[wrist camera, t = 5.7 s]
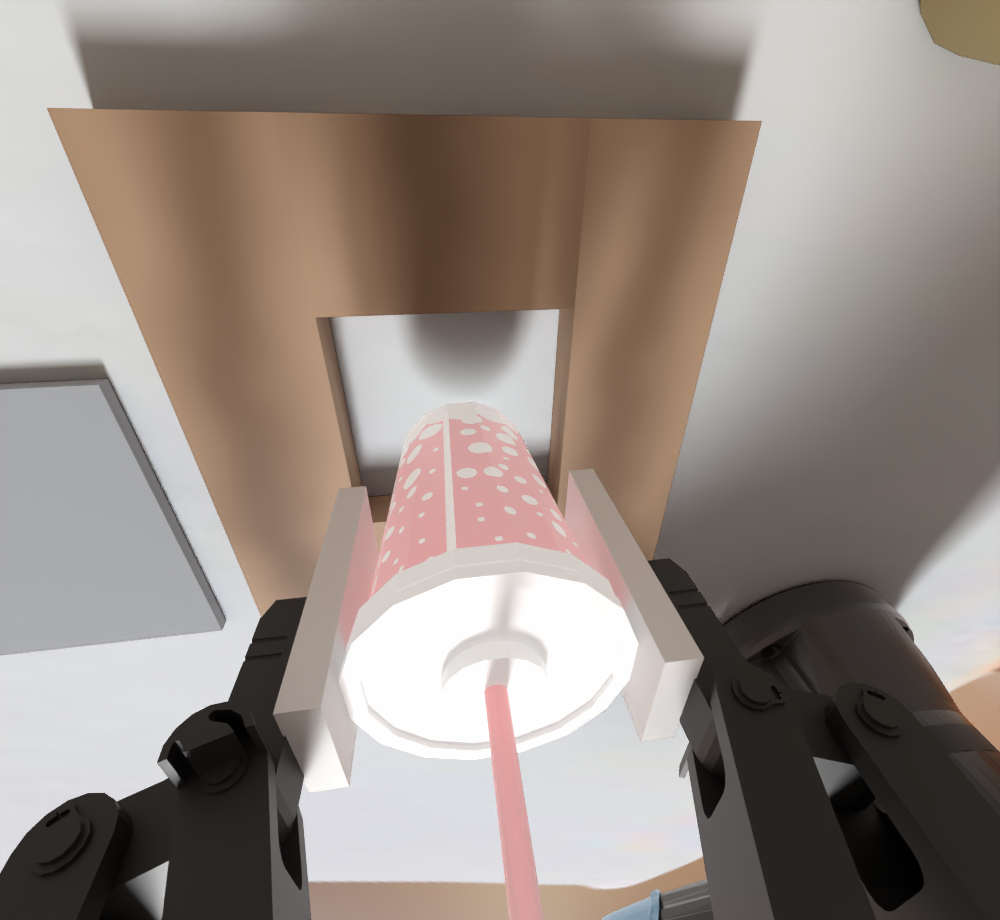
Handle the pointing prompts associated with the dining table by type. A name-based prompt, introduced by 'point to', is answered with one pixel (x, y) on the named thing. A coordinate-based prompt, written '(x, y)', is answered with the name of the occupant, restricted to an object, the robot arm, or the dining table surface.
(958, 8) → the squeeze bottle
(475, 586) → the beverage cup
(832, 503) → the dining table surface
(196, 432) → the pocket holder
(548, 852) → the dining table surface
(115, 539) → the rubber mat
